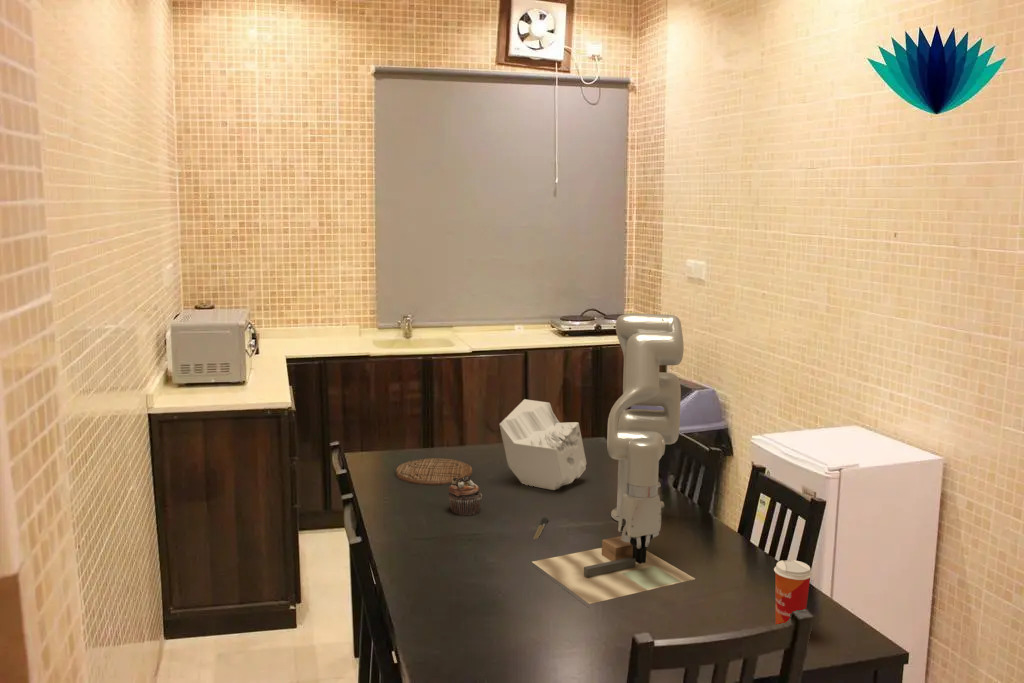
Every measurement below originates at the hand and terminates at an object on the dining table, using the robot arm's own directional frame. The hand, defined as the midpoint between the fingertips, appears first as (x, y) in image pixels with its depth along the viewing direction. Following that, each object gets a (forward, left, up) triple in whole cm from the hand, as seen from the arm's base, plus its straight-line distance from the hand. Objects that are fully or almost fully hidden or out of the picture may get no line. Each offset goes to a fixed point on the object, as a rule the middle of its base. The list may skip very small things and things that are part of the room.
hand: (639, 561), depth 216 cm
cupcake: (+21, -57, -2) cm, 60 cm away
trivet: (+15, -94, -3) cm, 95 cm away
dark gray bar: (+9, 0, -1) cm, 9 cm away
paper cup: (-10, +39, -2) cm, 41 cm away
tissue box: (-12, -68, -2) cm, 69 cm away
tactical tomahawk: (+9, -31, -3) cm, 33 cm away
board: (+8, -1, -2) cm, 8 cm away
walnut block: (+2, -7, -1) cm, 7 cm away
